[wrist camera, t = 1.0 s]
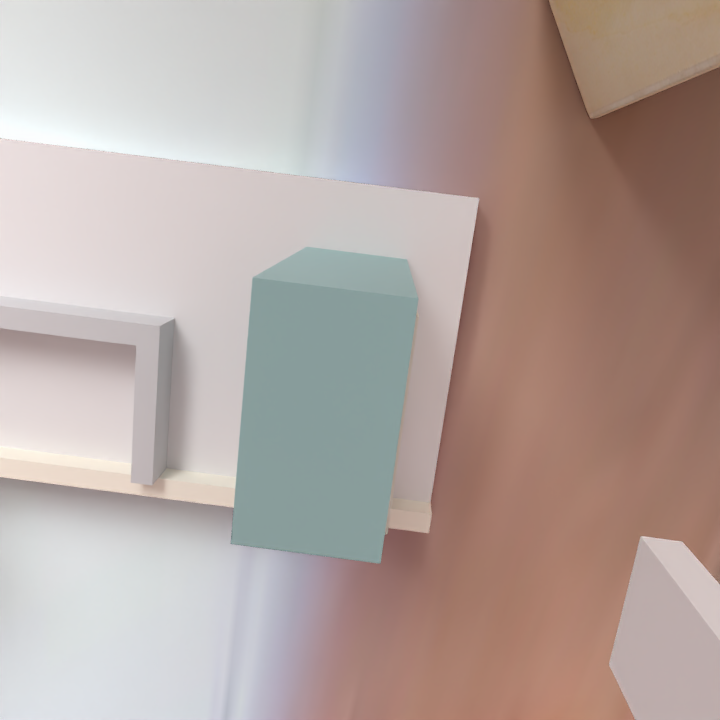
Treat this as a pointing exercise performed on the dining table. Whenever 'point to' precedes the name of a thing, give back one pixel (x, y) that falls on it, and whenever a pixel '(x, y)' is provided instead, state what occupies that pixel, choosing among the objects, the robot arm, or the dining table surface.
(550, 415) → the dining table surface
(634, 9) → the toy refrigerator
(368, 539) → the teal carton
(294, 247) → the shelf
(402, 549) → the dining table surface
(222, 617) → the dining table surface
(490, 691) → the dining table surface
